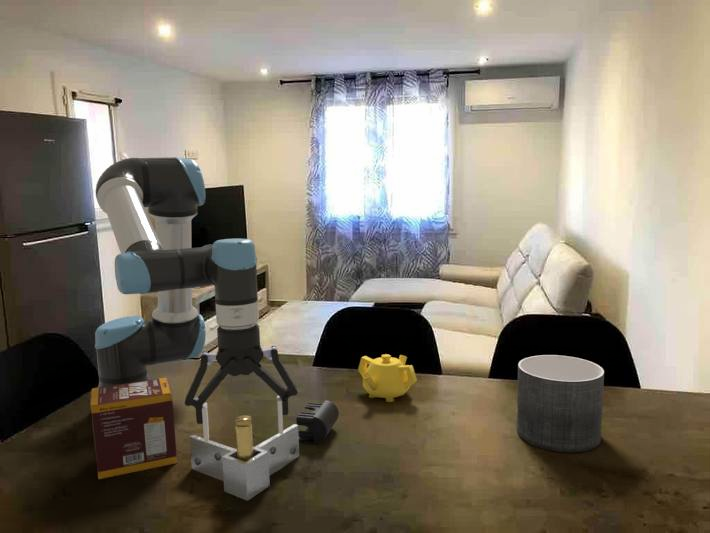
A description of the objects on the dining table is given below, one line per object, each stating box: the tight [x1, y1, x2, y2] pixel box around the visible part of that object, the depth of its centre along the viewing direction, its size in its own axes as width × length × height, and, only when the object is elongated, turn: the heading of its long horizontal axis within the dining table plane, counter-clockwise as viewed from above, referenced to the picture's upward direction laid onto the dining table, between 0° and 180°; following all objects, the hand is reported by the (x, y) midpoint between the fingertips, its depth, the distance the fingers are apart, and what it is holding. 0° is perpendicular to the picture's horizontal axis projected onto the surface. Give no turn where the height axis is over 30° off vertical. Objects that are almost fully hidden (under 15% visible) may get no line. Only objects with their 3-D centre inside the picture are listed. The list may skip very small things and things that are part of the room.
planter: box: [516, 354, 605, 454], centre depth 125 cm, size 18×18×16 cm
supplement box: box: [89, 377, 178, 480], centre depth 118 cm, size 10×15×16 cm
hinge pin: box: [234, 414, 254, 462], centre depth 106 cm, size 3×3×14 cm
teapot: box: [357, 353, 418, 403], centre depth 151 cm, size 20×18×11 cm
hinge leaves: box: [189, 423, 300, 501], centre depth 114 cm, size 18×18×7 cm
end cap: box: [295, 399, 340, 446], centre depth 128 cm, size 10×7×7 cm
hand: (244, 435), depth 105 cm, fingers open, 13 cm apart
